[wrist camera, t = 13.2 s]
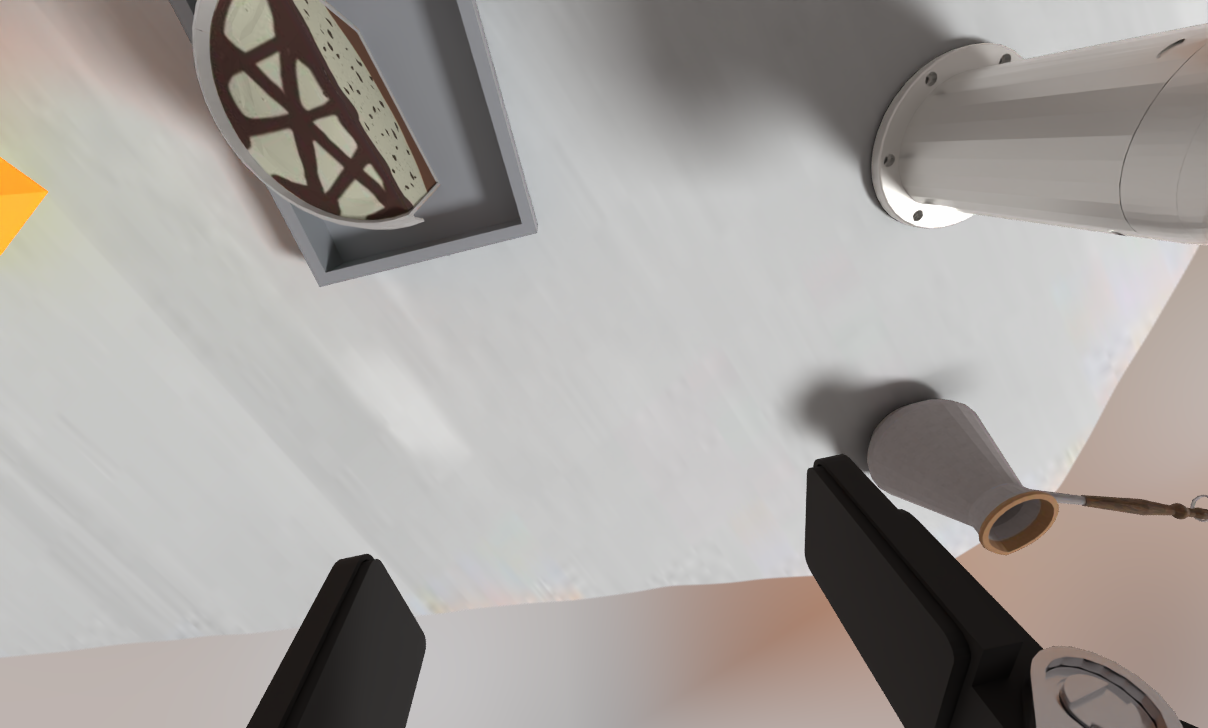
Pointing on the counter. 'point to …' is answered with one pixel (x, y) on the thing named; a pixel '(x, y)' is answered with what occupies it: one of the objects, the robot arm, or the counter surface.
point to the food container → (310, 110)
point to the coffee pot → (975, 477)
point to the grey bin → (426, 141)
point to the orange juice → (16, 201)
